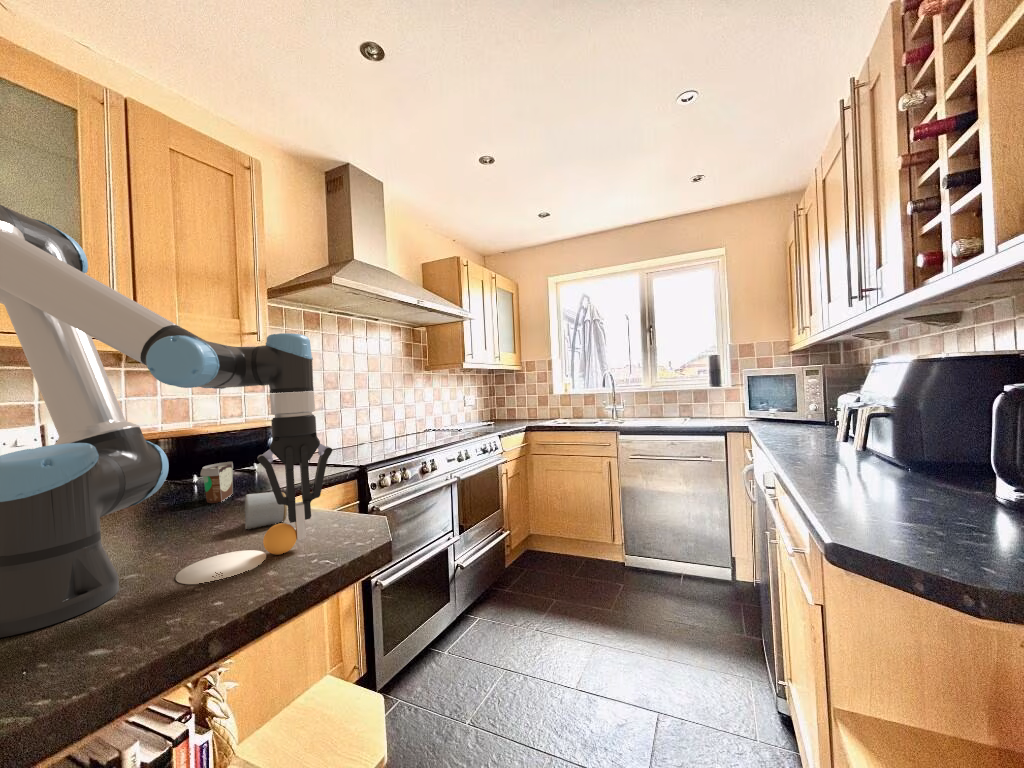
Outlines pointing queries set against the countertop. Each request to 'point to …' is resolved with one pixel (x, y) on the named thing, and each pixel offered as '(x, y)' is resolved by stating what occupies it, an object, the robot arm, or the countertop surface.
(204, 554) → the countertop surface
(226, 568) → the cream disc
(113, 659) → the countertop surface
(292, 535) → the ball
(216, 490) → the food container
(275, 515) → the ceramic mug
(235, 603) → the countertop surface
